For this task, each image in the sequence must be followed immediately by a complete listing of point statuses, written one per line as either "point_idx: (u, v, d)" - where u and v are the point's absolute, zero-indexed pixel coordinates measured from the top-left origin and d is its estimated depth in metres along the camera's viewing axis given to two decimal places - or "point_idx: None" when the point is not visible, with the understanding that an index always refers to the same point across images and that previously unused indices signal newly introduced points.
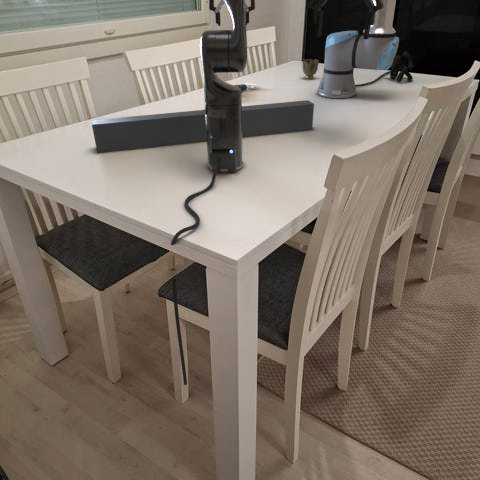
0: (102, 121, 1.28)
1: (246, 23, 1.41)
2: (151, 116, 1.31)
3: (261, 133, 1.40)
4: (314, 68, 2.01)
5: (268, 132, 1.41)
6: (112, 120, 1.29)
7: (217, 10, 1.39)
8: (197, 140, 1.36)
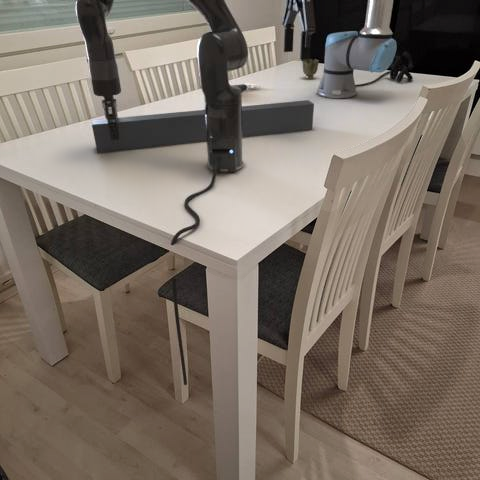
0: (102, 121, 1.28)
1: None
2: (151, 116, 1.31)
3: (261, 133, 1.40)
4: (314, 68, 2.01)
5: (268, 132, 1.41)
6: (112, 120, 1.29)
7: None
8: (197, 140, 1.36)
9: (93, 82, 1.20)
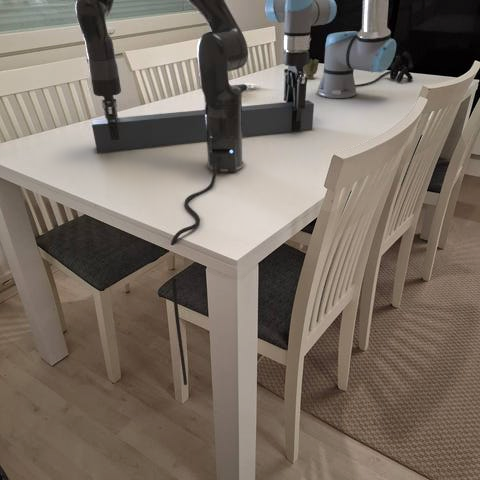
0: (102, 121, 1.28)
1: None
2: (151, 116, 1.31)
3: (261, 133, 1.40)
4: (314, 68, 2.01)
5: (268, 132, 1.41)
6: (111, 120, 1.29)
7: None
8: (197, 140, 1.36)
9: (93, 82, 1.20)
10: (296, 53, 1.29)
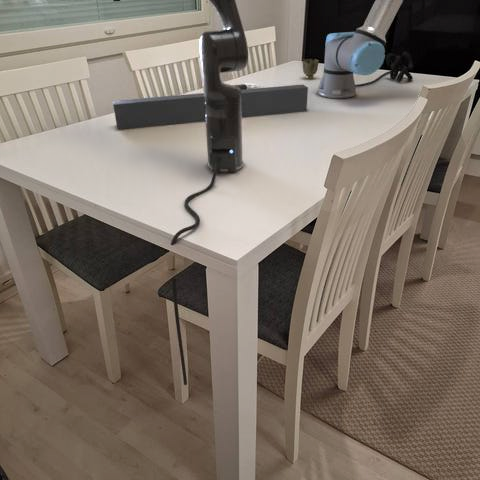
0: (122, 101, 1.46)
1: None
2: (164, 97, 1.49)
3: (261, 113, 1.58)
4: (314, 68, 2.01)
5: (267, 112, 1.59)
6: (130, 100, 1.47)
7: None
8: (205, 119, 1.54)
9: None
10: None
